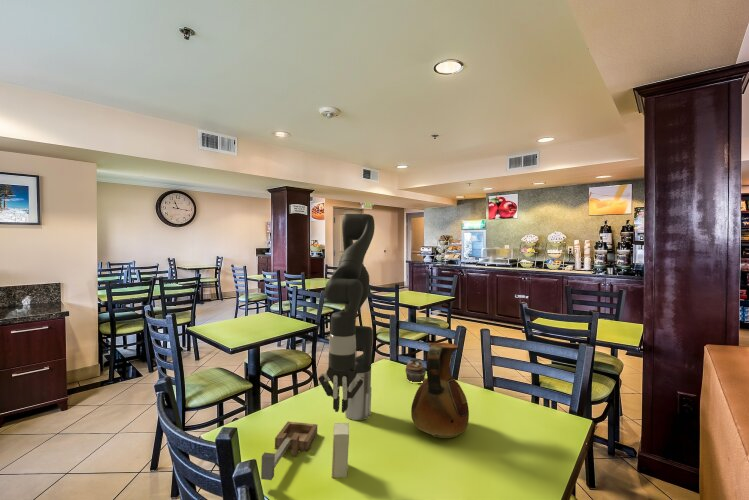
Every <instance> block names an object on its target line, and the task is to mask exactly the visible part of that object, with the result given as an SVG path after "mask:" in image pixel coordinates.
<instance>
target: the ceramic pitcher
mask: <svg viewBox="0 0 749 500" xmlns="http://www.w3.org/2000/svg"><path fill="white" fill-rule="evenodd" d="M427 346H428V347H429V349H428V351H427V354H426V361H425V364H426V367H425V368H426V377H427V378H426V379H424V381H423V383H421V384H419V387H418V388H417V390H416V392H415V394H414V398H413V401H412V403H411V407H410V408H411V409H410V414H411V416H410V417H411V419H412V423H413V424H414V425H415V427H416V428H417V429H418V430H419V431H422V432H424V433H426V434H428V435H432V436H433V437H435V438H441V439H450V438H454V437H456V436H459V435H461V434H463V433H464V432H465V431H466V430H467V428H468V425H469V418H470V411H469V403H468V400H467V396H466V393H465V391H464V390H463V388H462V387H461V385H460V384H459V383H458V381H456V379H455V378H453V376H452V372H451V362H452V356H453V354H454V353H455V352H456V350H459V346H458V345H457V344H452V343H449V342H427Z"/></svg>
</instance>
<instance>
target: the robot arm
mask: <svg viewBox="0 0 749 500" xmlns="http://www.w3.org/2000/svg"><path fill="white" fill-rule="evenodd" d="M341 232H342V233H341V234H342V244H343V245H342V246H343V253H342V254H341V255H340V258H339V263H338V265H337V268H336V269H335V271H334V272H333V274H332V275H331V276H330V277H329V279H328V280H327V282H326V284H325V287H324V297H325V299H326V301H327V302H328V303H331V304H338V305H340V304H341V305H344V310H339V311H336V312H333V313H332V314H331V316H330V329H329V331H330V334H329V340H328V367H327V369H326V372H325V373H321V375H319V376H318V381H319V383H320V385H321V387H322V389H323V391H324V392H325V395H326V396H328V397H331V398H333V400H332V401H333V402H332V408H333V409H332V410H334V412H336V413H338V412H339V411H340V402H341V413H344V414H345V417H346V418H348V419H349V420H353V421H363V420H369V419H370V415H371V412H372V410H371V409H372V381H371V380H372V357H373V356H372V354H373V343H374V332H373V327H371V326H366V325H357V323H356V322H357V317H358V316H357V315H358V312H359V311H360V309H361V307H362V306H363V305H364V303H366V300H367V298H368V297H369V295H370V275H369V272H368V270H367V268H366V267H365V265H364V259H365V256H366V254H367V252H368V250H369V248H370V245H371V243H372V240H373V238H374V235H375V219H374V216H373V215H371V214H370V213H368V214H367V213H346V214H344V215H343V218H342V224H341ZM357 352H362V354H361V355H358V356H356V353H357ZM329 380H330V382H331V384H332V386H331V384H330V382H329ZM341 387H342V389H341ZM340 389H341V390H342V398H341V396H340ZM340 399H341V401H340Z"/></svg>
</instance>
